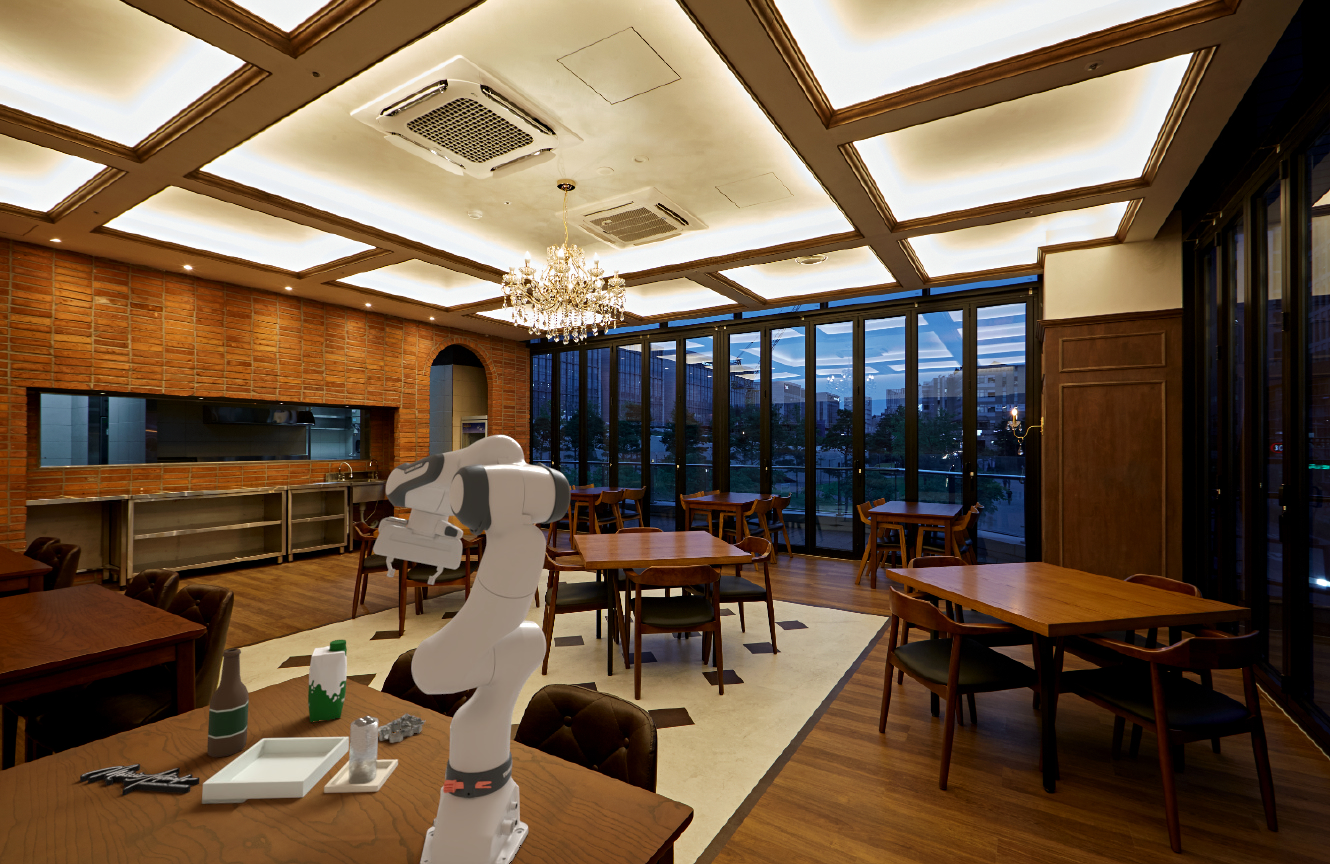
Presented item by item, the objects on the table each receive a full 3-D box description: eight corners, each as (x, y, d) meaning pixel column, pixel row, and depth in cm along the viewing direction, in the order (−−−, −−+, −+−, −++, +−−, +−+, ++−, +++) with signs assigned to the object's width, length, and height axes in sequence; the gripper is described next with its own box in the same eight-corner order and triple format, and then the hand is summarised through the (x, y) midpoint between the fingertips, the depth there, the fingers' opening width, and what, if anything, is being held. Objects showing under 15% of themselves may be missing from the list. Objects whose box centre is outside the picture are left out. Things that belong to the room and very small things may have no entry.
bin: (302, 800, 122) (303, 781, 122) (201, 803, 121) (202, 783, 121) (348, 753, 142) (348, 736, 142) (262, 755, 141) (263, 738, 141)
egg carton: (394, 749, 145) (395, 732, 145) (372, 743, 148) (373, 726, 148) (427, 731, 155) (428, 715, 155) (406, 725, 158) (407, 710, 158)
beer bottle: (230, 758, 139) (235, 655, 140) (198, 757, 139) (203, 654, 141) (254, 742, 147) (258, 645, 148) (223, 742, 147) (228, 644, 148)
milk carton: (343, 719, 161) (346, 644, 162) (305, 725, 157) (308, 649, 158) (346, 707, 169) (348, 636, 170) (309, 712, 165) (312, 640, 166)
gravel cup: (370, 784, 127) (372, 723, 128) (343, 785, 127) (346, 723, 127) (380, 771, 132) (382, 712, 133) (355, 771, 132) (357, 713, 133)
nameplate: (59, 785, 125) (108, 761, 135) (59, 792, 125) (108, 768, 135) (176, 793, 122) (218, 769, 132) (176, 801, 122) (217, 776, 132)
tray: (377, 794, 124) (377, 785, 125) (323, 796, 124) (324, 786, 124) (397, 768, 135) (398, 759, 135) (348, 769, 135) (348, 760, 135)
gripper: (381, 515, 139) (362, 573, 136) (469, 533, 145) (452, 590, 143) (383, 514, 145) (366, 570, 142) (468, 532, 151) (452, 586, 148)
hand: (410, 580), depth 142 cm, fingers open, 8 cm apart
